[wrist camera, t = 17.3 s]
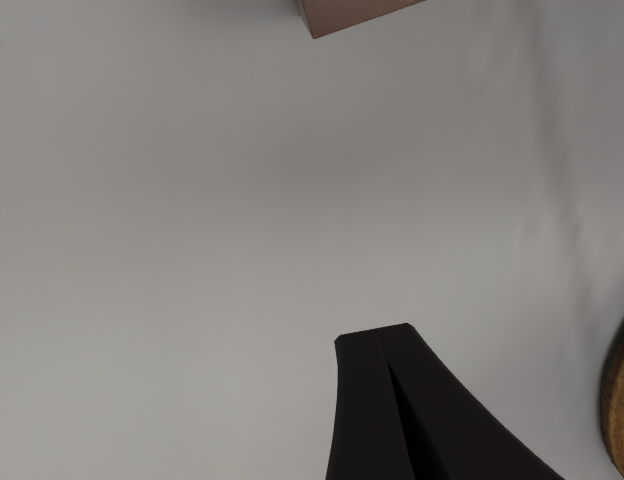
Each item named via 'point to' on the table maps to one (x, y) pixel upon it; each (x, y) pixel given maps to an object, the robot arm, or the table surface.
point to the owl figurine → (614, 405)
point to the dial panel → (344, 13)
